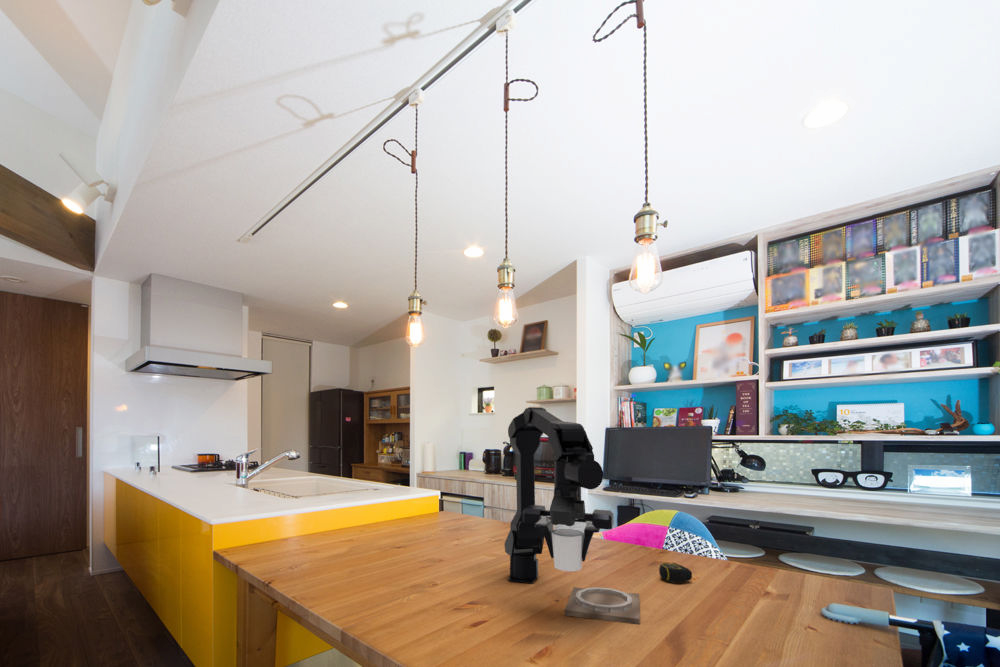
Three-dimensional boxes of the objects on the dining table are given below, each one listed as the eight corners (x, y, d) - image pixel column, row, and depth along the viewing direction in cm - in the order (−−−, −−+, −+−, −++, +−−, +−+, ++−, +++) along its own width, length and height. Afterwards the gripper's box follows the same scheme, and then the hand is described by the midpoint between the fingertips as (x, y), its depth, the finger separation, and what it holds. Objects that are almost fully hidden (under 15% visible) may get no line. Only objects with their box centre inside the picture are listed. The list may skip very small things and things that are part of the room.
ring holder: (564, 615, 102) (564, 605, 103) (573, 591, 116) (573, 582, 117) (639, 624, 98) (639, 613, 99) (639, 598, 112) (639, 589, 113)
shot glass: (549, 562, 106) (549, 528, 107) (580, 562, 106) (580, 528, 108) (554, 572, 99) (554, 536, 100) (587, 572, 100) (587, 536, 101)
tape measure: (693, 584, 124) (693, 568, 124) (670, 586, 122) (670, 570, 122) (676, 575, 130) (675, 560, 131) (654, 577, 128) (653, 562, 129)
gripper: (516, 485, 101) (515, 565, 98) (608, 490, 95) (610, 576, 93) (528, 478, 111) (528, 551, 109) (613, 483, 106) (614, 560, 103)
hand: (567, 559), depth 103 cm, fingers closed on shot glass, 6 cm apart
